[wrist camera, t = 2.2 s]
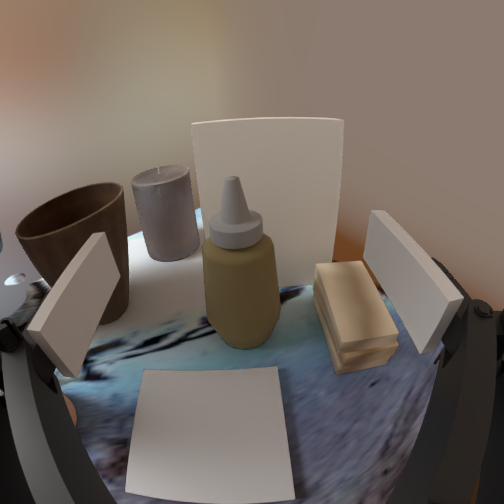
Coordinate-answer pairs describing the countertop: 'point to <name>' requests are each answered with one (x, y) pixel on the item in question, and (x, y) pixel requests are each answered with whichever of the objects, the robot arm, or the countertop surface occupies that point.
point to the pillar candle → (166, 212)
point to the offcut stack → (353, 317)
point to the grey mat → (210, 437)
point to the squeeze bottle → (240, 272)
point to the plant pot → (79, 235)
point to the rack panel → (277, 183)
